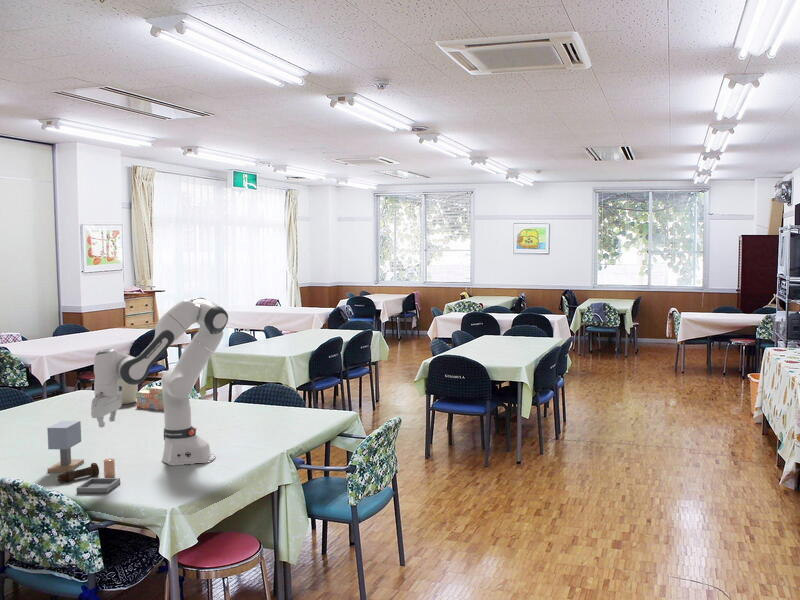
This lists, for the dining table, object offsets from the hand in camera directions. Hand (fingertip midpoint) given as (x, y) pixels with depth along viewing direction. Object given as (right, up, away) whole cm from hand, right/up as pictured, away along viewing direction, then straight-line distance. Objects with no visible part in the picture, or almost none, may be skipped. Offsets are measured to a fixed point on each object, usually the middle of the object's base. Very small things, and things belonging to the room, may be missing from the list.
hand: (107, 424), depth 288 cm
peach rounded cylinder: (0, -22, +2) cm, 22 cm away
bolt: (-11, -22, -1) cm, 25 cm away
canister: (-47, -12, +140) cm, 148 cm away
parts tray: (+2, -23, -12) cm, 26 cm away
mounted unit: (-23, -21, +15) cm, 34 cm away
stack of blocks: (-23, -13, +126) cm, 129 cm away
